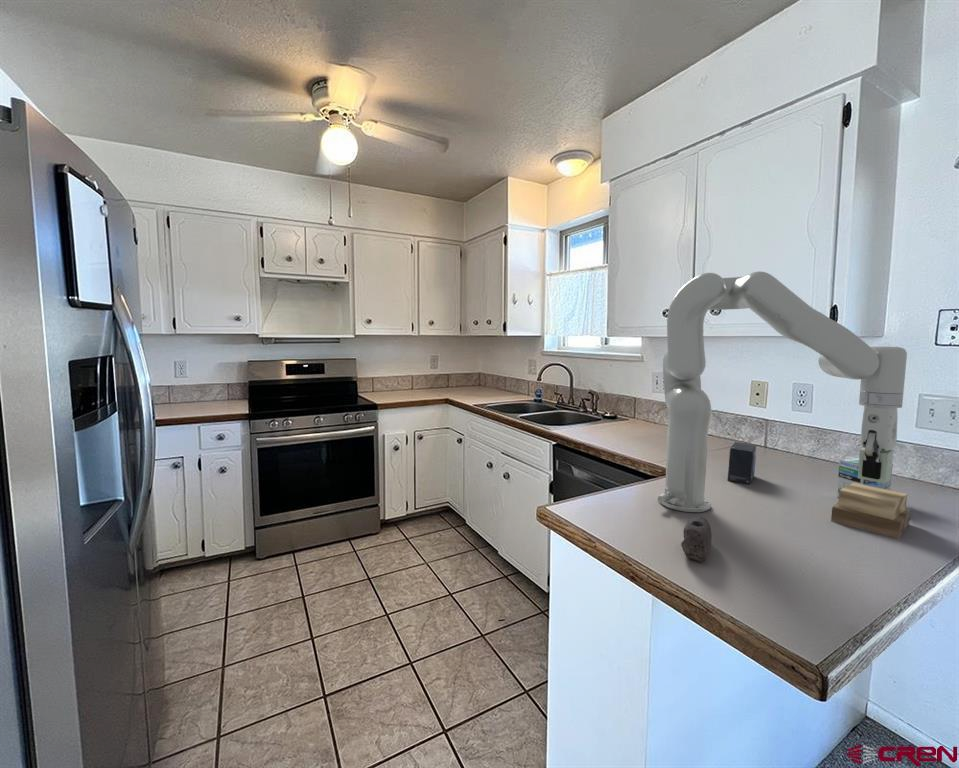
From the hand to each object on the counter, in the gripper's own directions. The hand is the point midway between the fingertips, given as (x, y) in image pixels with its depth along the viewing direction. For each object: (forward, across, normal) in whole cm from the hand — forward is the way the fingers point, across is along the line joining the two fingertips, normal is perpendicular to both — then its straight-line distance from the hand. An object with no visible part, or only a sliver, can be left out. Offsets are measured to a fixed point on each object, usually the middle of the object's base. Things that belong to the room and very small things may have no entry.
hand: (874, 474), depth 105 cm
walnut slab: (+12, 0, 0) cm, 12 cm away
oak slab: (+8, 0, 0) cm, 8 cm away
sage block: (+1, 0, 0) cm, 1 cm away
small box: (+12, +11, +33) cm, 37 cm away
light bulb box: (+12, +18, +5) cm, 22 cm away
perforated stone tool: (+12, -47, +18) cm, 52 cm away
